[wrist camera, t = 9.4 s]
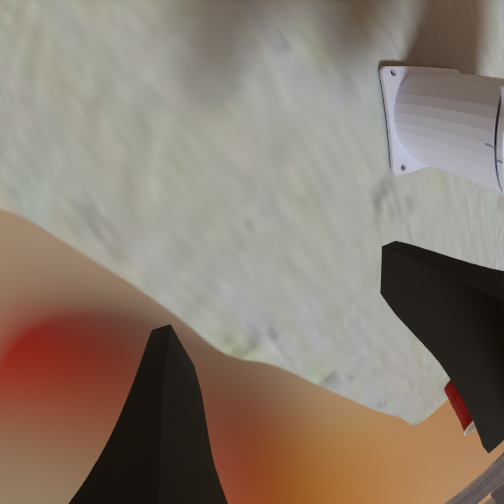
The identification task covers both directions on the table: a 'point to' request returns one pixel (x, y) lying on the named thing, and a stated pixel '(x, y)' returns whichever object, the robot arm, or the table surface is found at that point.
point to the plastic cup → (460, 408)
